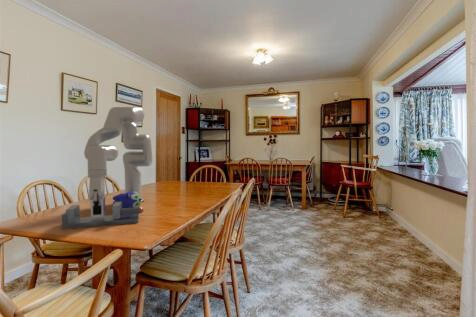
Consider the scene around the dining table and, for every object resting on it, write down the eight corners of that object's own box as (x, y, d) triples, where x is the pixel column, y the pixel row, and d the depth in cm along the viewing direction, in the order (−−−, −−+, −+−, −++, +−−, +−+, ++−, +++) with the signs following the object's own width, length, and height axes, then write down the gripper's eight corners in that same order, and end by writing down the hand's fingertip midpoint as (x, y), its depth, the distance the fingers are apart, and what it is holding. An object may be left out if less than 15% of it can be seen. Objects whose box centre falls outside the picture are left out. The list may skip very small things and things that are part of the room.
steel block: (93, 214, 122) (92, 197, 122) (105, 214, 124) (105, 197, 124) (91, 217, 118) (90, 199, 117) (103, 216, 119) (103, 199, 119)
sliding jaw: (115, 214, 127) (115, 202, 127) (143, 212, 131) (143, 200, 131) (112, 219, 118) (112, 206, 118) (142, 217, 122) (142, 204, 122)
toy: (147, 205, 154) (140, 210, 139) (118, 210, 153) (107, 216, 138) (144, 188, 154) (136, 191, 139) (115, 193, 153) (104, 197, 138)
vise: (69, 222, 122) (68, 205, 121) (138, 217, 131) (138, 201, 130) (62, 229, 112) (61, 210, 112) (137, 222, 121) (137, 205, 121)
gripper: (92, 171, 127) (93, 209, 128) (83, 175, 111) (84, 218, 111) (109, 171, 129) (110, 208, 130) (103, 175, 113) (104, 217, 114)
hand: (98, 212), depth 121 cm, fingers closed on steel block, 5 cm apart
